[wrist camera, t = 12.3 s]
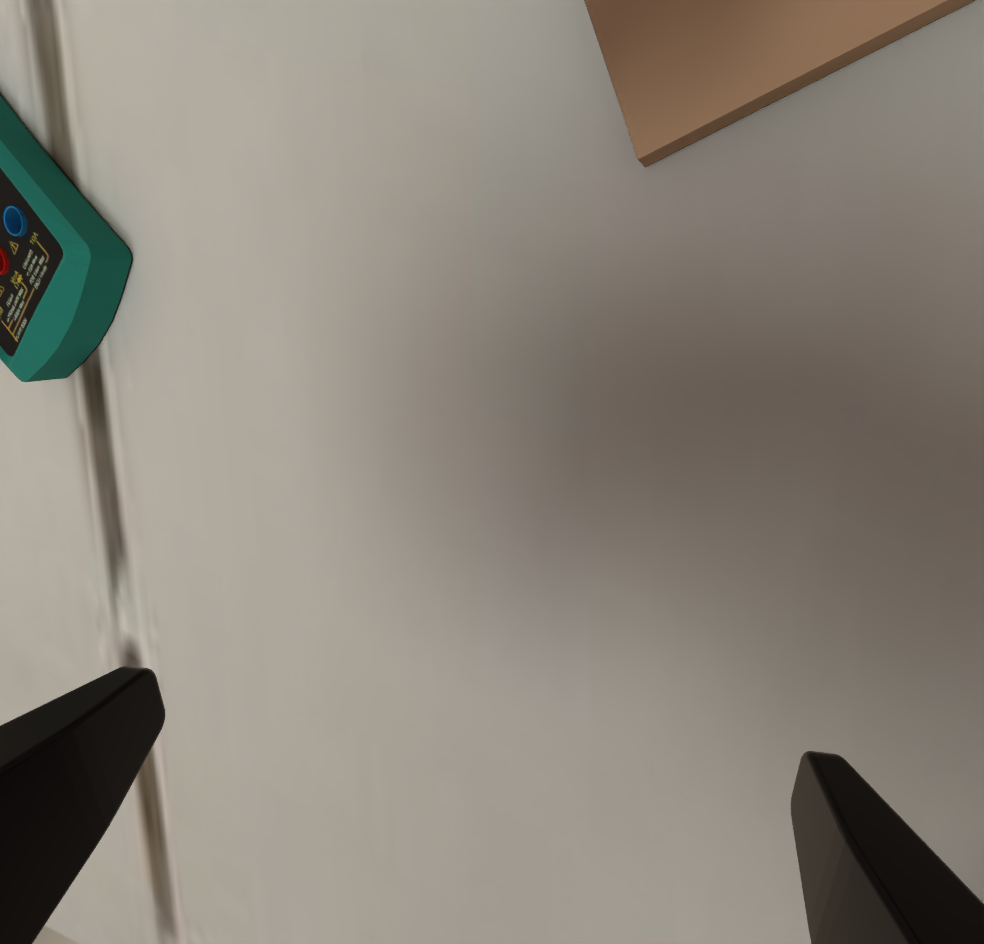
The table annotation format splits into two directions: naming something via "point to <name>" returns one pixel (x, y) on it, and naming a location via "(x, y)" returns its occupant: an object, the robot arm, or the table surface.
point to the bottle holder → (733, 56)
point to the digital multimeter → (50, 262)
